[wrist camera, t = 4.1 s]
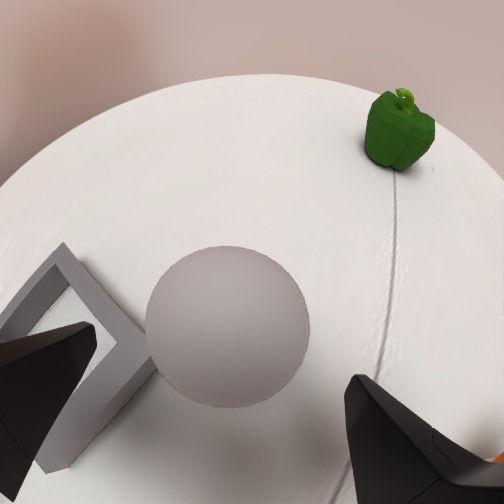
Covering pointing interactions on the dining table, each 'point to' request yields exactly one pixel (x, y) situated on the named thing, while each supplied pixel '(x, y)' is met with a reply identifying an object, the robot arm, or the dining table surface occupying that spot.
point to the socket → (107, 371)
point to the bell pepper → (398, 130)
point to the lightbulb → (227, 326)
